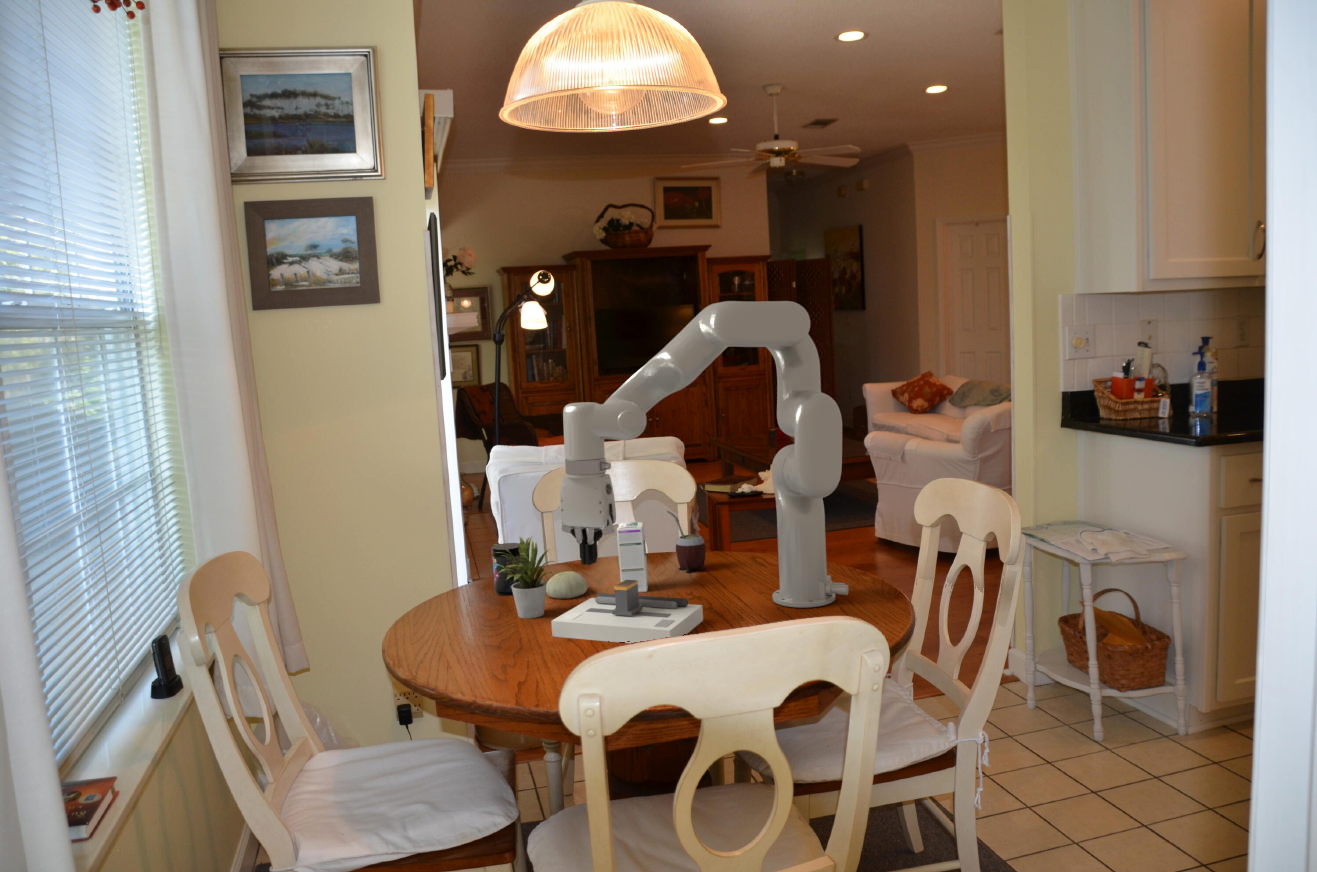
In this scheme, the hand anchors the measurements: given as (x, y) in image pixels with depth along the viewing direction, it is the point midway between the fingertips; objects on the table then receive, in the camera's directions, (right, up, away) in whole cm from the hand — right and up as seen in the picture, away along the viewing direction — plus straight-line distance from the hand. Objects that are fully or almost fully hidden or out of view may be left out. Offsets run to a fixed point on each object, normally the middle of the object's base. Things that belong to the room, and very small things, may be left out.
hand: (589, 563), depth 177 cm
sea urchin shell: (-7, -11, +26) cm, 29 cm away
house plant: (-14, -12, +12) cm, 22 cm away
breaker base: (+8, -12, -1) cm, 14 cm away
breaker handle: (+7, -9, -2) cm, 12 cm away
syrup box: (+8, -10, +27) cm, 29 cm away
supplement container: (-20, -11, +30) cm, 38 cm away
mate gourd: (+21, -8, +41) cm, 46 cm away
